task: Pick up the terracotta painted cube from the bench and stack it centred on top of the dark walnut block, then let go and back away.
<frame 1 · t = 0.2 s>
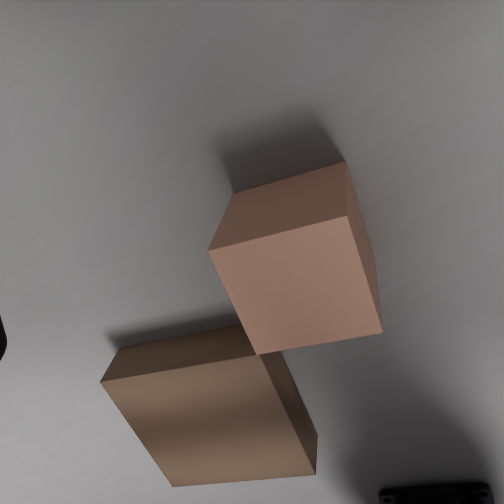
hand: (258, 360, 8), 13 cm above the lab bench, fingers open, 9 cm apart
walnut block: (222, 387, 28), on the lab bench
terracotta cube: (305, 227, 21), on the lab bench
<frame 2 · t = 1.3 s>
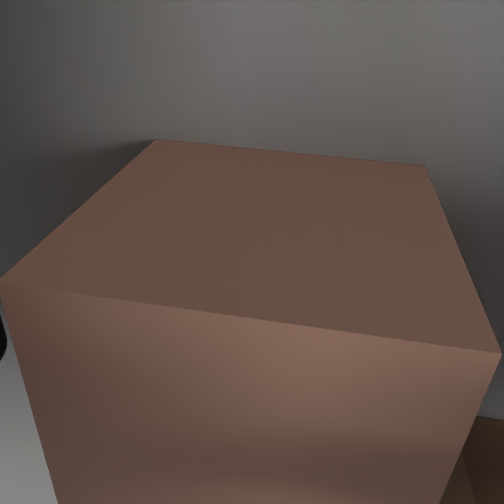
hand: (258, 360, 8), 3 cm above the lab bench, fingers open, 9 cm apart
terracotta cube: (276, 263, 10), on the lab bench
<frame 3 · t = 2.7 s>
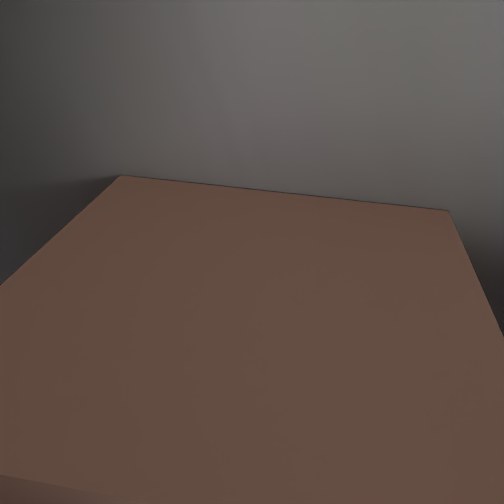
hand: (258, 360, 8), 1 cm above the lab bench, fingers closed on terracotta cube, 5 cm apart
terracotta cube: (267, 321, 8), on the lab bench, touching gripper
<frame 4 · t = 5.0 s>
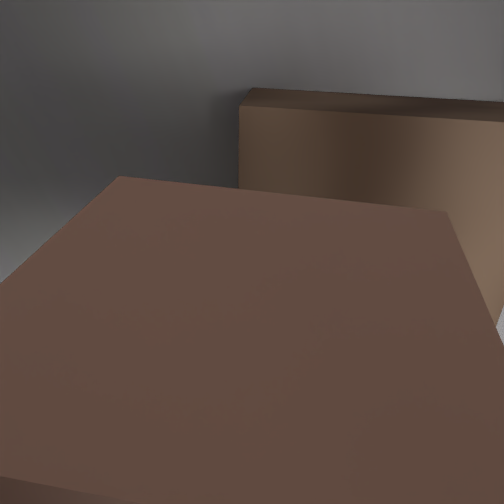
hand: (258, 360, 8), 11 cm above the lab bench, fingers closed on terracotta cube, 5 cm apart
walnut block: (367, 214, 18), on the lab bench
terracotta cube: (265, 321, 8), point 10 cm above the lab bench, touching gripper
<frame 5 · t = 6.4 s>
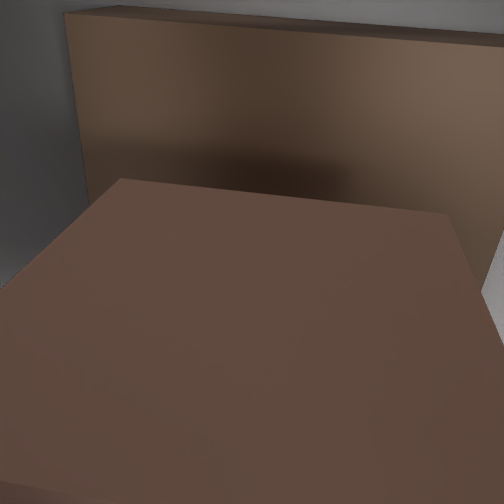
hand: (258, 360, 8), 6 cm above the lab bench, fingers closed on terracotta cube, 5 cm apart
walnut block: (291, 196, 13), on the lab bench
terracotta cube: (267, 323, 9), point 5 cm above the lab bench, touching gripper
when the fingers open (5 cm above the lab bench, at t = 7.5 s): terracotta cube drops 2 cm, resting on walnut block.
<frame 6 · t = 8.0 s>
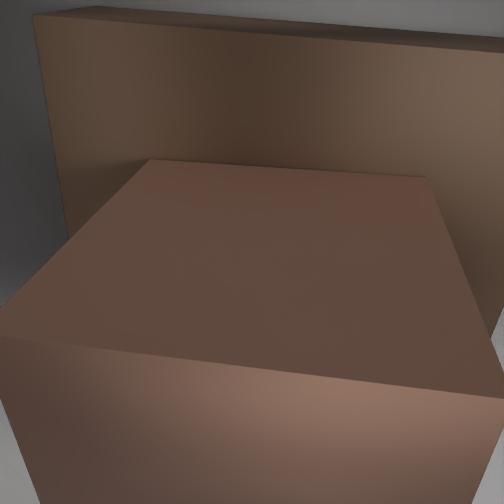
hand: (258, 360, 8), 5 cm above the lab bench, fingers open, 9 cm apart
walnut block: (289, 212, 12), on the lab bench, touching terracotta cube
terracotta cube: (278, 282, 10), point 2 cm above the lab bench, touching walnut block
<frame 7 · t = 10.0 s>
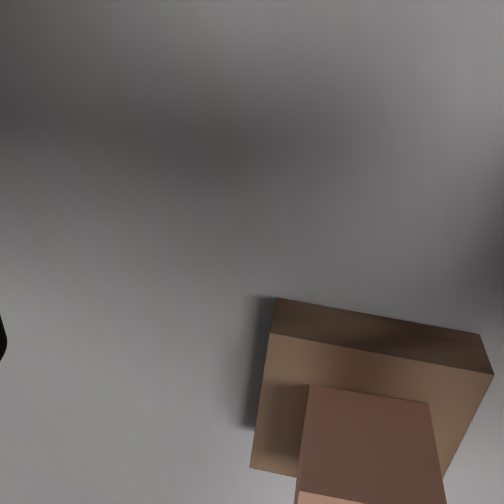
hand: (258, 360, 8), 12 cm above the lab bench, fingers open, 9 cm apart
walnut block: (355, 379, 24), on the lab bench, touching terracotta cube
terracotta cube: (358, 432, 22), point 2 cm above the lab bench, touching walnut block
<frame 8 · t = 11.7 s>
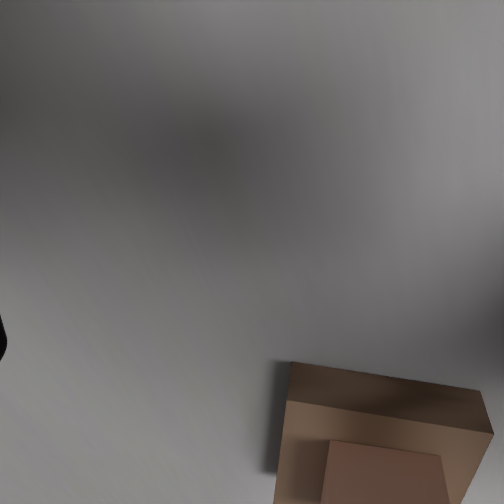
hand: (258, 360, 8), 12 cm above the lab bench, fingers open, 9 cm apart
walnut block: (366, 428, 26), on the lab bench, touching terracotta cube
terracotta cube: (376, 480, 23), point 2 cm above the lab bench, touching walnut block
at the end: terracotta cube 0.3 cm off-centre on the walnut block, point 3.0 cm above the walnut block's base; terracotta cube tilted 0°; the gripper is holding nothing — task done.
